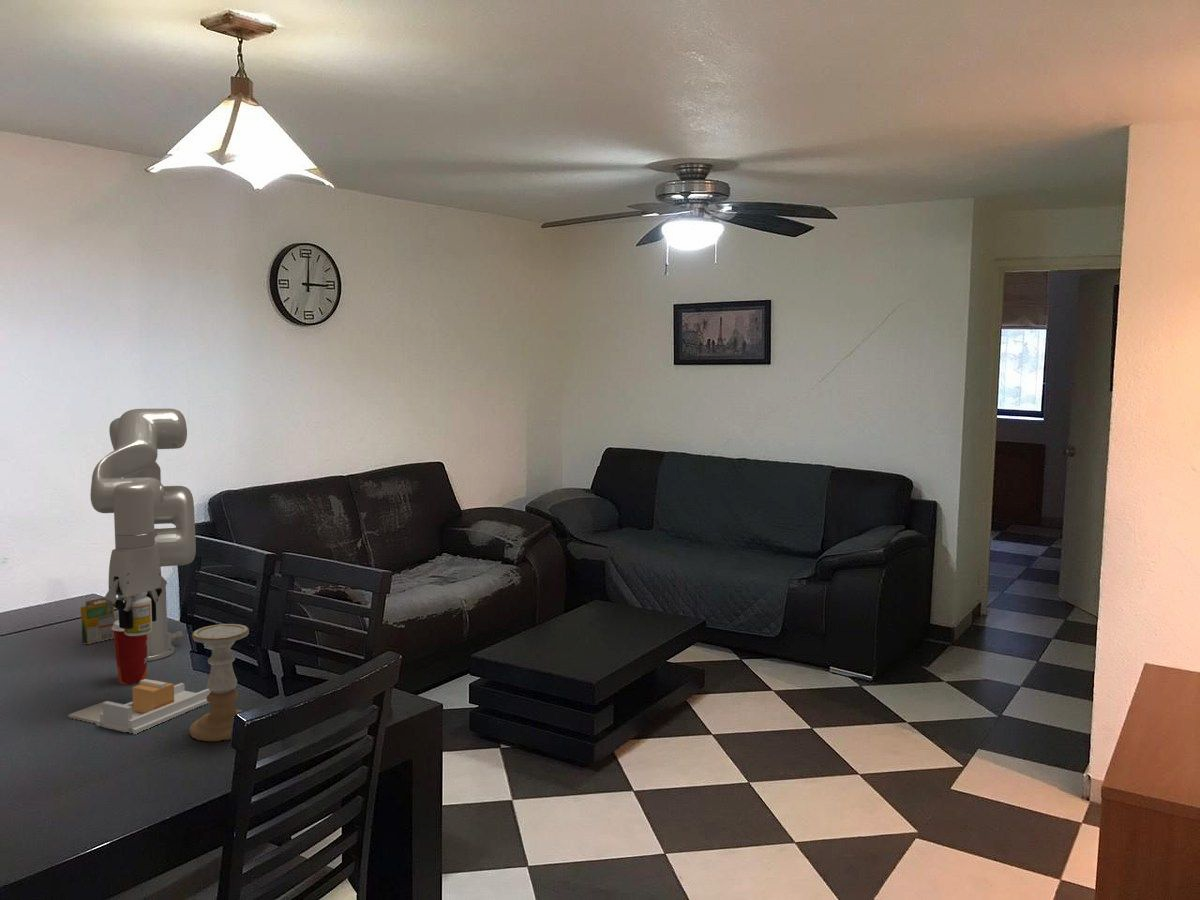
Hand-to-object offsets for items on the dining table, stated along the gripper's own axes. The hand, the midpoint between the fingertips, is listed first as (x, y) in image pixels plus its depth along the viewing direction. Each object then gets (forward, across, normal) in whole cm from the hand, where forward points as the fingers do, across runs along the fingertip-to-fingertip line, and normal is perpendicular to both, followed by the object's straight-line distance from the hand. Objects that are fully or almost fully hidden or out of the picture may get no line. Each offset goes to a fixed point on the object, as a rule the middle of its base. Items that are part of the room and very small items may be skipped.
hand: (138, 623), depth 196 cm
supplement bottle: (+2, 0, 0) cm, 2 cm away
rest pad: (+17, +8, -1) cm, 19 cm away
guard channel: (+17, +4, +9) cm, 20 cm away
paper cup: (+17, -9, -13) cm, 23 cm away
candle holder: (+17, +6, +28) cm, 33 cm away
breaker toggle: (+16, +5, +9) cm, 19 cm away
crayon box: (+18, -29, -46) cm, 57 cm away
